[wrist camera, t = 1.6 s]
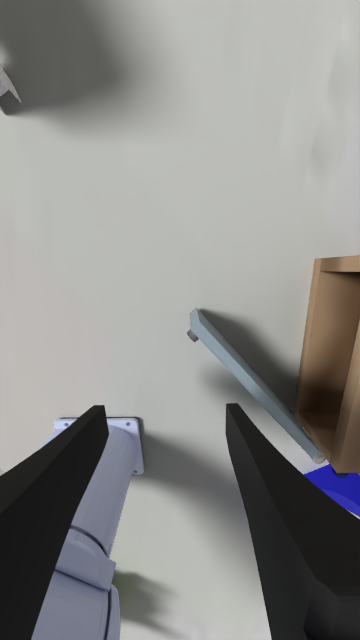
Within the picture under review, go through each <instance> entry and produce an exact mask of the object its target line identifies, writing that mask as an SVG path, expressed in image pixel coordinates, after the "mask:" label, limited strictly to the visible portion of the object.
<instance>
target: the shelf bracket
mask: <svg viewBox="0 0 360 640" xmlns="http://www.w3.org/2000/svg"><path fill="white" fill-rule="evenodd" d="M8 90H10V91H11V92H12V93H13V94H14V96H15V97H16V98H17V99H18V100H19V101H20V102H21V100H20V98H19V96H18V94H17V92H16V90H15V88H14V86H13V84H12V82H11V81H10V79H9V78H8V76H7V74H6V73H5V71H4V70H3V68H2V67H1V65H0V96H1V95H3V94H4V93H5V92H7V91H8ZM0 110H1V111H2V112H3V113H4V111H3V110H2V108H1V106H0ZM4 114H5V113H4ZM5 115H6V114H5Z"/></svg>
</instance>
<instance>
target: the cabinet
mask: <svg viewBox="0 0 360 640" xmlns="http://www.w3.org/2000/svg"><path fill="white" fill-rule="evenodd" d="M294 415H295V416H296V417H297V419H298V420H299V422H300V423H301V424H302V426H303V428H304V429H305V431H306V432H307V433H308V435H309V436H310V437H311V438H312V439H313V440H314V442H315V443H316V445H317V446H318V447H319V449H320V450H321V451H322V453H323V454H324V455H325V457H326V459H327V460H328V462H329V463H330V465H331V466H332V467H333V469H334V470H335V471H336V473H360V255H359V256H346V257H333V258H320V259H315V262H314V269H313V277H312V284H311V291H310V298H309V306H308V313H307V320H306V327H305V335H304V342H303V349H302V356H301V364H300V371H299V378H298V385H297V392H296V400H295V407H294Z"/></svg>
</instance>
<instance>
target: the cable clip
mask: <svg viewBox="0 0 360 640" xmlns="http://www.w3.org/2000/svg"><path fill="white" fill-rule="evenodd" d="M304 476H305V477H306V478H307V479H309V480H310V481H311V482H312V483H313V484H315V485H316V486H317V487H318V488H319V489H321V490H322V491H323V492H324V493H326V494H327V495H328V496H329V497H330V498H332V499H333V500H334V501H335V502H337V503H338V504H339V505H341V506H342V507H343V508H345V509H346V510H348V511H350V512H352V513H354V514H356V515H358V516H359V517H360V476H359V475H358V473H336V471H335V470H334V469H333V467H332V466H331V465H330V464H329V465H326V466H324V467H321V468H319V469H317V470H314V471H312V472H309V473H307V474H304Z"/></svg>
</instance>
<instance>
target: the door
mask: <svg viewBox="0 0 360 640" xmlns="http://www.w3.org/2000/svg"><path fill="white" fill-rule="evenodd" d="M190 324H191V329H190V330H189V331H188V332H187V334H188V336H189V337H190V338H191V340H193V341H194V342H196V341H197V340H198V339H200V340H201V341H202V342H203V343H204V345H205V346H206V347H207V348H208V349H209V350H210V351H211V352H212V353H213V354H214V355H215V356H216V357H217V358H218V359H219V360H220V361H221V363H222V364H223V365H224V366H225V367H226V368H227V369H228V370H229V371H230V372H231V373H232V374H233V375H234V376H235V377H236V378H237V379H238V381H239V382H240V383H241V384H242V385H243V386H244V387H245V388H246V389H247V390H248V391H249V392H250V393H251V394H252V395H253V396H254V397H255V399H256V400H257V401H258V402H259V403H260V404H261V405H262V406H263V407H264V408H265V409H266V410H267V411H268V412H269V413H270V414H271V415H272V417H273V418H274V419H275V420H276V421H277V422H278V423H279V424H280V425H281V426H282V427H283V428H284V429H285V430H286V431H287V432H288V433H289V435H290V436H291V437H292V438H293V439H294V440H295V441H296V442H297V443H298V444H299V445H300V446H301V447H302V448H303V449H304V450H305V451H306V453H307V454H308V455H309V456H310V457H311V459H312V460H313V462H314V463H317V464H320V463H323V462H324V461H325V460H326V457H325V455H324V454H323V453H322V451H321V450H320V449H319V447H318V446H317V445H316V443H315V442H314V440H313V439H312V438H311V437H309V436H308V434H307V433H306V432H305V430H304V429H303V427H302V424H301V423H300V422H299V420H298V419H297V417H296V416H295V415H294V413H293V412H292V411H291V410H289V409H288V408H287V407H286V406H285V405H284V404H283V402H282V401H281V400H280V399H279V398H278V397H277V396H276V395H275V394H274V393H273V391H272V390H271V389H270V388H269V387H268V386H267V385H266V384H265V383H264V382H263V380H262V379H261V378H260V377H259V376H258V375H257V374H256V373H255V372H254V371H253V369H252V368H251V367H250V366H249V365H248V364H247V363H246V362H245V361H244V360H243V358H242V357H241V356H240V355H239V354H238V353H237V352H236V351H235V350H234V349H233V348H232V346H231V345H230V344H229V343H228V342H227V341H226V340H225V339H224V338H223V337H222V335H221V334H220V333H219V332H218V331H217V330H216V329H215V328H214V327H213V326H212V324H211V323H210V322H209V321H208V320H207V319H206V318H205V317H204V316H203V315H202V313H201V312H200V311H199V310H198V309H197V308H195V309H194V310H193V311H192V312H191V313H190Z"/></svg>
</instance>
